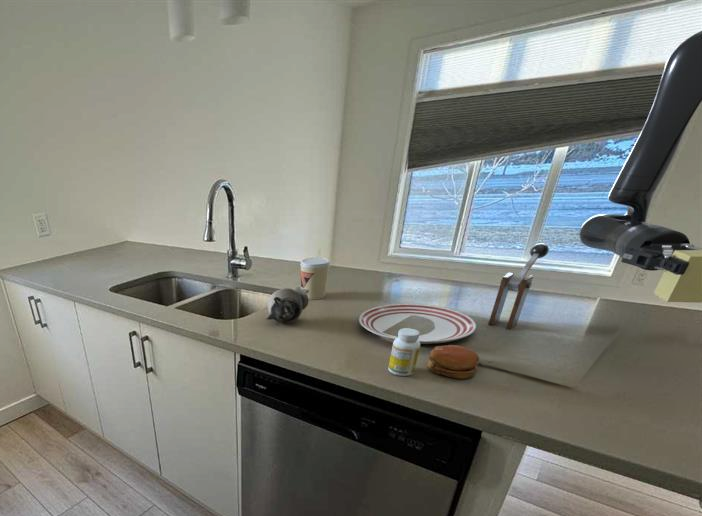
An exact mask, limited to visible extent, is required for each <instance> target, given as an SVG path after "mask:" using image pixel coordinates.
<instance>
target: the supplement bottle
mask: <svg viewBox="0 0 702 516" xmlns="http://www.w3.org/2000/svg"><path fill="white" fill-rule="evenodd" d="M420 335H421V334H420V331H419V330H417V329H414V328H409V327H404V328H400V329H399V330H398V333H397V336H398V338H396V339H395V340H393V342H392V347H391V350H390V357H389V363H388V367H387V369H388V371H389V373H391V374H393V375H395V376H399V377H408V376H411V375H413V374H414V373H415V371H416V366H417V363H418V362H417V361H418V357H419V353H420V350H421V344H420V342H419V341H418V338H419V336H420Z"/></svg>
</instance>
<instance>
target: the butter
mask: <svg viewBox="0 0 702 516" xmlns="http://www.w3.org/2000/svg"><path fill="white" fill-rule="evenodd" d="M673 255H674V257H677V258H680V259H682V260H685V261H687V262H689V265H688V267H687V269H686V271H685V273H684V274H683V275H676V274H674V273H672V272H669V271H667V270H663V271H664V272H663V273H662V276H661V277H660V280H659V281H658V283H657V285H656V287H655V289H654V291H653V295H654V296H656V297H657V298H660V299H661V300H663V301H665V302H666V303H700V304H701V303H702V250H675V251H674V253H673Z"/></svg>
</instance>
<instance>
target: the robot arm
mask: <svg viewBox="0 0 702 516" xmlns="http://www.w3.org/2000/svg"><path fill="white" fill-rule="evenodd" d="M701 103H702V30H700V31H698V32H695V33H694V34H693V35H691V36H689V37H688V38H686V39H685V40H684V41H682V42H681V43H680V44H679V45H678V46H677V47H675V49H674V50H673V52H671V54H670V55H669V57H668V59H667V60H666V62H665V65H664V70H663V72H662V76H661V79H660V82H659V85H658V88H657V92H656V95H655V97H654V101H653V104H652V106H651V109H650V111H649V114H648V116H647V119H646V121H645V123H644V125H643V128H642V130H641V131H640V134H639V136H638V138H637V140H636V142H635V144H634V146H633V147H632V149H631V151H630V153H629V155H628V157H627V158H626V160H625V162H624V164H623V167H622V168H621V170H620V172H619V173H618V176H617V178H616V180H615V182H614V184H613V186H612V188H611V190H610V191H609V194H608V198H607V199H608V201H609V202H610V203H613V204H615V205H619V206H625V207H626V213H625V214H614V213H613V214H610V213H609V214H607V213H606V214H605V213H604V214H603V213H602V214H597V215H594V216H591V217H590V218H588V219H587V220H586V221H584V223H583V224H582V225H581V227H580V230H579V240H580V242H581V243H582V244H583V245H584V246H586V247H589V248H591V249H597V250H602V251H607V252H611V253H613V254H614V255H617V256H619V257H620V258H621V260H620V263H623V264H627V265H630V266H633V267H636V268H639V269H642V270H645V271H653V272H654V271H665V270H667V271H669V272H672V273H674V274H676V275H683V274H684V273H685V271H686V269H687V267H688V265H689V262H687V261H685V260H682V259H680V258H677V257H674V255H673V253H674V251H675V250H702V247H698V246H696V245H694V244H691V242H690V239H689V238H688V236H687V235H686V234H685V233H683V232H681V231H677V230H675V229H672V228H669V227H665V226H663V225H659V224H652V223H648V222H647V219H648V214H649V210H650V206H651V204H652V201H653V200H652V199H653V196H654V194H655V193H656V191H657V189H658V187H659V185H660V183H661V182H662V181H663V179H664V177H665V175H666V173H667V172H668V169H669V167H670V166H671V164H672V161H673V160H674V157H675V155H676V153H677V151H678V148H679V145H680V144H681V140H682V138H683V136H684V133H685V131H686V129H687V127H688V125H689V123H690V121H691V120H692V117H693V116H694V114H695V112H696V110H697V109H698V108H699V106H700V105H701Z"/></svg>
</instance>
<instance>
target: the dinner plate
mask: <svg viewBox="0 0 702 516" xmlns="http://www.w3.org/2000/svg"><path fill="white" fill-rule="evenodd" d="M411 316H414V317H415V316H416V317H421V318H424V319H428V320H430V322H432V323H433V325H434V329H433V330H431V331H430V332H428V333H425V334H420V335H419V338H418V341H419V342H420V345H433V344H442V343H450V342H454V341H455V342H456V341H458V340H461V339H464V338H467V337H469V336H470V335H472V334H473V333H475V331H476V329H477V323H476V322H475V320H473V318H472V317H470V316H468V315H466V314H465V313H463V312H461V311H458V310H455V309H451V308H448V307H442V306H436V305H429V304H420V303H395V304H385V305H379V306H376V307H373V308H370V309H367V310H365V311H363V313H361V314H360V315H359V317H358V322H359V324H360V326H361V327H362V328H364V329H365V330H367V331H369V332H371V333H372V334H374V335H376V336H379V337H382V338H384V339H388V340H391V341H394V340H395V339H396V338H398V335H391V334H388V333H386V332H385V331H386V330H389V329H390V328H392V327H394V326H395V325H397V324H399V323H400V322H403V321H404V320H406V319H407V318H409V317H411Z"/></svg>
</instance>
